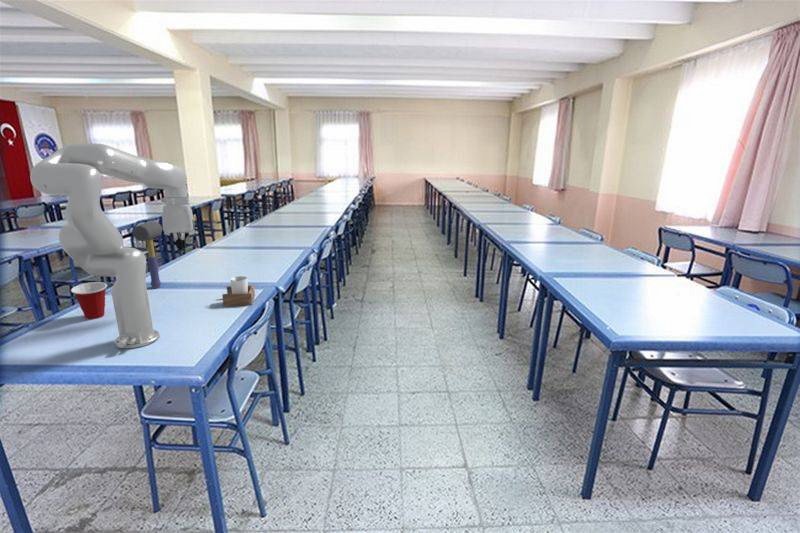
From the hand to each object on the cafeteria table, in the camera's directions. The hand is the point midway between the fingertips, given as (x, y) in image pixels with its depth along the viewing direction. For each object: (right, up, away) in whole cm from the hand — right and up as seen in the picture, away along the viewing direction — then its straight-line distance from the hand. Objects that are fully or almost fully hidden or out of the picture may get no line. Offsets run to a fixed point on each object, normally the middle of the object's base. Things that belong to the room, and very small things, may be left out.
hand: (181, 249), depth 158 cm
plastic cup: (-31, -26, -3) cm, 40 cm away
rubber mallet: (-28, -16, +30) cm, 44 cm away
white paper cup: (+17, -21, +15) cm, 31 cm away
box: (+17, -21, +15) cm, 31 cm away
